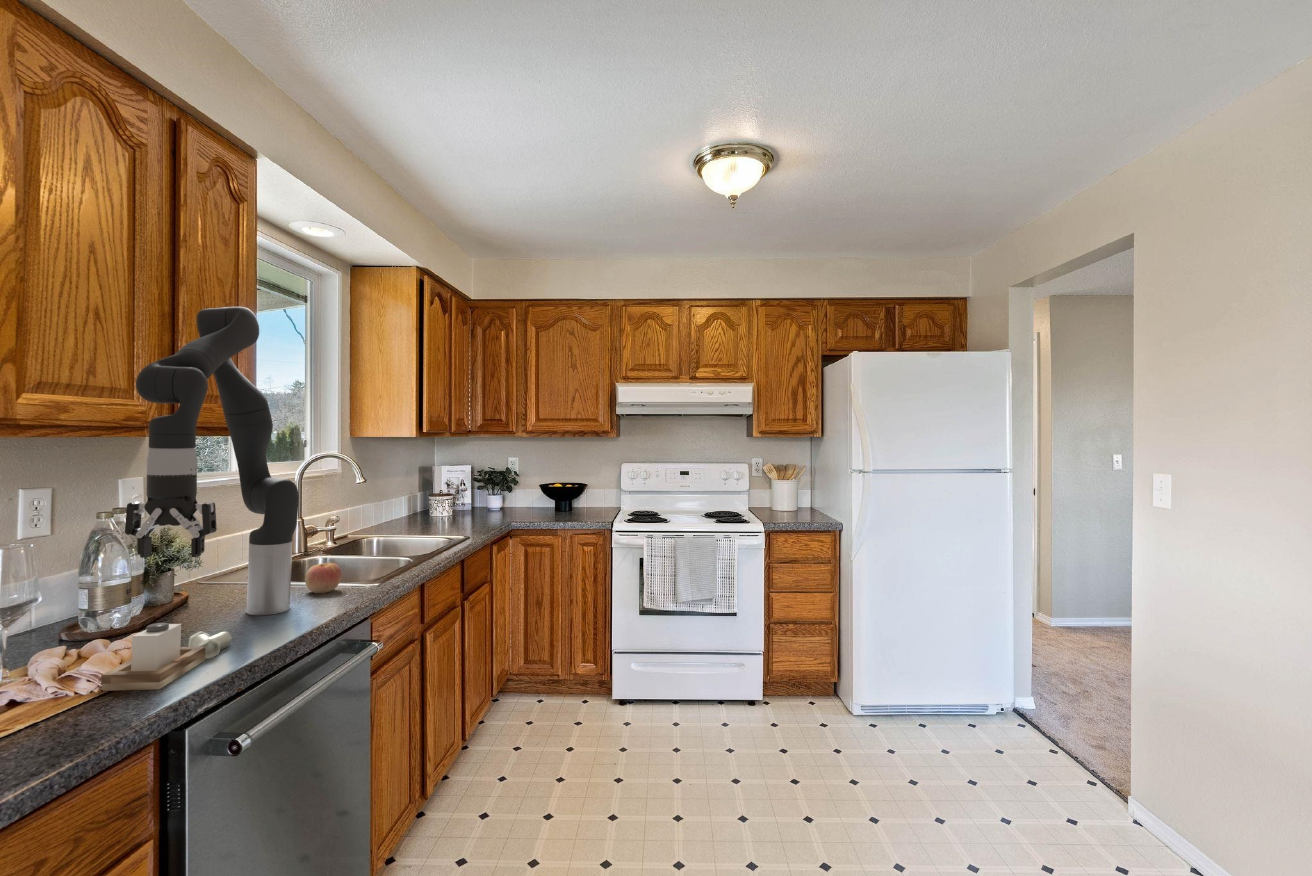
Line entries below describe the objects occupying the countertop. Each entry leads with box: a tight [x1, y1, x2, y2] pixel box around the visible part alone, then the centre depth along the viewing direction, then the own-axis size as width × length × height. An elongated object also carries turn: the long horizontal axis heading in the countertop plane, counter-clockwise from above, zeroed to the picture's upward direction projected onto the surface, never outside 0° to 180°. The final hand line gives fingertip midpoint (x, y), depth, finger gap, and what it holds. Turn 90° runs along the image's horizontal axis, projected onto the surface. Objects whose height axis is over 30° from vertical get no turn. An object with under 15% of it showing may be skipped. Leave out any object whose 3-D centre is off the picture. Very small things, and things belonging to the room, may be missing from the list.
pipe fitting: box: [187, 630, 233, 660], centre depth 125 cm, size 8×4×7 cm
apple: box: [305, 562, 342, 594], centre depth 174 cm, size 9×9×8 cm
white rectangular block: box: [130, 622, 182, 671], centre depth 113 cm, size 4×7×8 cm, turn 9°
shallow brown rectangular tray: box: [100, 646, 206, 692], centre depth 113 cm, size 14×9×3 cm, turn 9°
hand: (171, 556), depth 117 cm, fingers open, 8 cm apart
